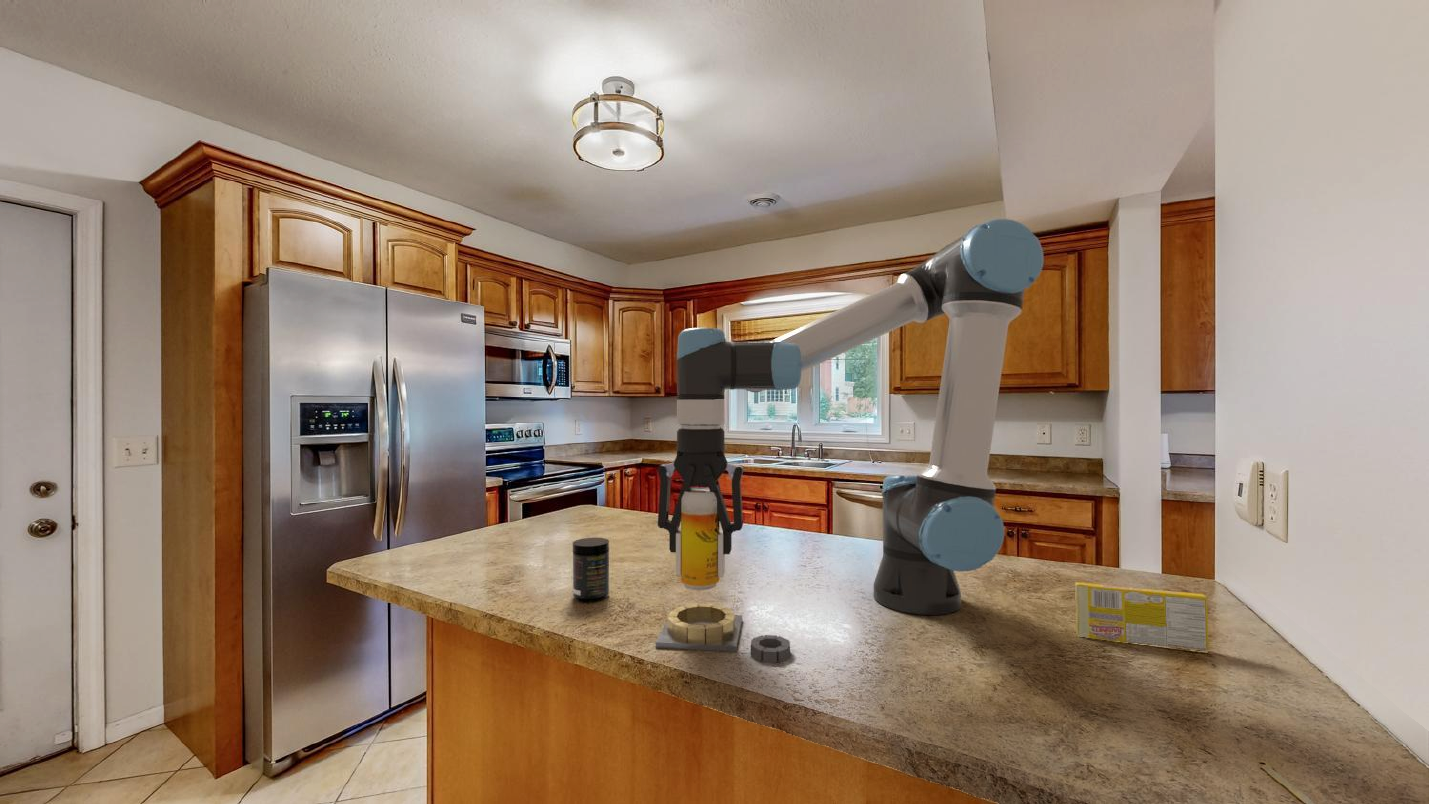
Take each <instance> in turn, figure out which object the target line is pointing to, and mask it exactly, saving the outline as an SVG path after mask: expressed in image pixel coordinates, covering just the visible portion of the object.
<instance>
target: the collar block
mask: <svg viewBox="0 0 1429 804" xmlns="http://www.w3.org/2000/svg"><path fill="white" fill-rule="evenodd" d="M666 619H667V620H666V622H665V624H664V626H663V628H662V630H661V632H660V633H659V635H658V637H657V639H656V641H655V648H658V649H671V650H672V649H673V650H674V649H675V650H695V651H714V652H732V653H733V652H735V653H736V652H737V649H738V643H739V639H740V634H741V633H740V632H741V627H742V623H743V615H742V614H741V615H739V614H736V613H735V612H734V611H732V609H730V608H729V607H727V606H722V605H720V604H719V605H718V604H714V603H692V604H685V605H681V606H678V607H676V608H674V609H672V610H671V611H670V612H669V613H668V616H667V617H666Z"/></svg>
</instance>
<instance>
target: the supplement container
mask: <svg viewBox="0 0 1429 804" xmlns="http://www.w3.org/2000/svg"><path fill="white" fill-rule="evenodd" d="M571 551H572V597H573V599H574V600H575V601H577V602H580V603H588V604H589V603H590V604H591V603H597V602H601V601H604V600H605V599H607V598H608V597H609V594H610V540H609V539H608V538H606V537H605V538H604V537H585V538H579V539H576V540H574V541H572V550H571Z"/></svg>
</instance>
